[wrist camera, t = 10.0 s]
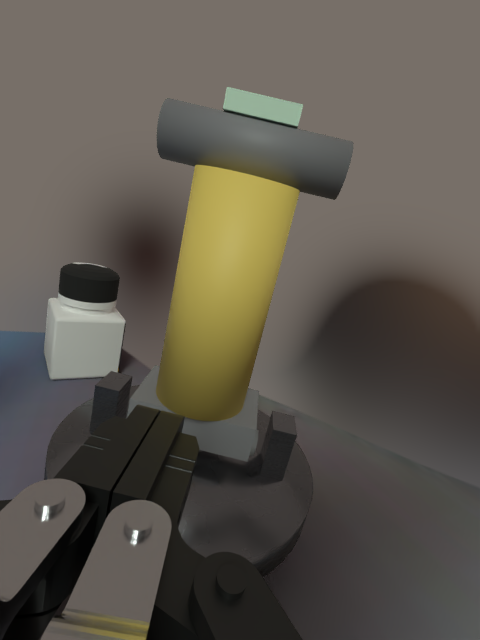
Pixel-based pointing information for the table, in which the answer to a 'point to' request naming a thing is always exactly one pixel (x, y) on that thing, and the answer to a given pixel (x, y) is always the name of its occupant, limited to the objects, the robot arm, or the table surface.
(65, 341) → the medicine bottle
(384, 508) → the table surface
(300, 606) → the table surface
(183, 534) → the dark grey round stand
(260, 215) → the yellow mallet
